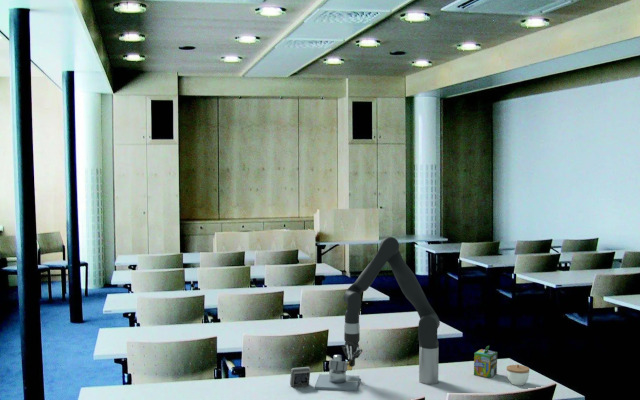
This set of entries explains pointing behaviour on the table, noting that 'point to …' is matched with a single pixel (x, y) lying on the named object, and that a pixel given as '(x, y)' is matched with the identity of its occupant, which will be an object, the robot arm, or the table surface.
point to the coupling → (339, 365)
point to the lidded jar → (517, 374)
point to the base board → (349, 385)
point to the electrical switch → (300, 377)
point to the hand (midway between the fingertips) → (351, 366)
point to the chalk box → (485, 363)
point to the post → (337, 373)
